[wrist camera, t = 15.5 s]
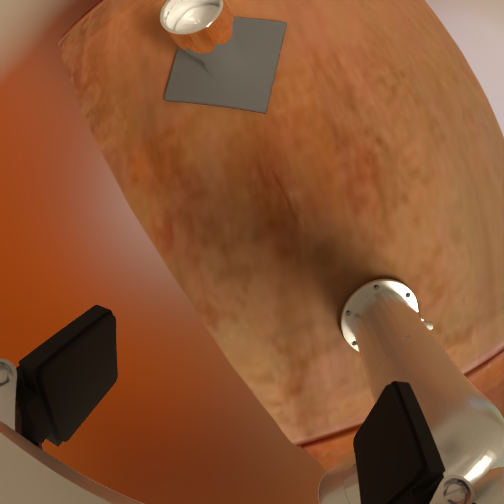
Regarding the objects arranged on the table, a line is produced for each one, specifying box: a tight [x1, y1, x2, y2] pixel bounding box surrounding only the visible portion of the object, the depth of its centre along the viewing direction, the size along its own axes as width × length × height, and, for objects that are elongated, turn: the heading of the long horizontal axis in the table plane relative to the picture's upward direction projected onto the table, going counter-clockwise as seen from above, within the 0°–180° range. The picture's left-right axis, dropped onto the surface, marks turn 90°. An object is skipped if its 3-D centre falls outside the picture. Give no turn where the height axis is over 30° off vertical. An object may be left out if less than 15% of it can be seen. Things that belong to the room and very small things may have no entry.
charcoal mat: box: [164, 17, 287, 114], centre depth 36 cm, size 15×15×1 cm
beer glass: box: [160, 0, 245, 77], centre depth 28 cm, size 7×7×15 cm
